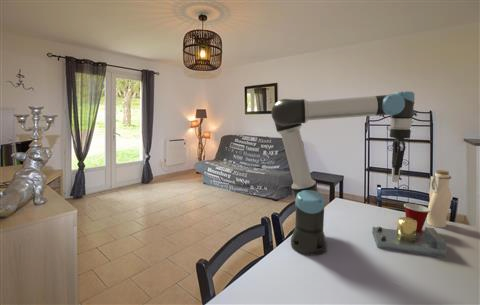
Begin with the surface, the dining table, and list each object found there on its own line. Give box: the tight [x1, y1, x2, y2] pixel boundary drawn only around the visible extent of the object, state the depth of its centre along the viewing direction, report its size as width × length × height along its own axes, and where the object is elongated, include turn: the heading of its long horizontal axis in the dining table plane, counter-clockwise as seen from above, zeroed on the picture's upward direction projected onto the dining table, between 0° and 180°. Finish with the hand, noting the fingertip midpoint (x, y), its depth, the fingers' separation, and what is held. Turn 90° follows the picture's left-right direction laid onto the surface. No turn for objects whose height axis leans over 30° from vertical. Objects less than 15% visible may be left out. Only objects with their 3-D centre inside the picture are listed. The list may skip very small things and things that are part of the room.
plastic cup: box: [403, 203, 430, 233], centre depth 124 cm, size 11×11×12 cm
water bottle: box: [426, 169, 452, 228], centre depth 128 cm, size 10×9×28 cm
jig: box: [371, 226, 447, 258], centre depth 111 cm, size 24×14×6 cm, turn 71°
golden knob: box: [396, 216, 417, 242], centre depth 110 cm, size 7×7×10 cm
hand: (394, 181), depth 113 cm, fingers closed
